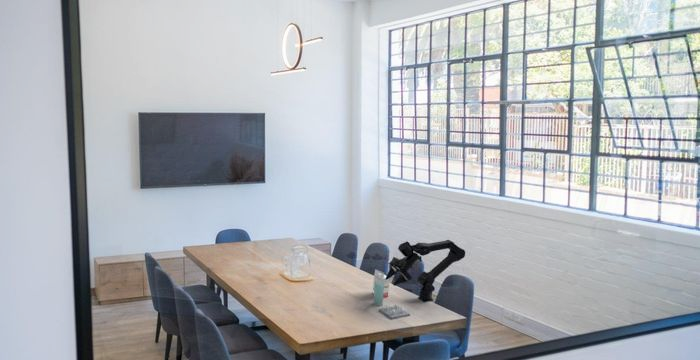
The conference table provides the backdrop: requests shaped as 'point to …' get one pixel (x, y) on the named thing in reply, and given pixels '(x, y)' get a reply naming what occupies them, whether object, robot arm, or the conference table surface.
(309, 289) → the conference table surface
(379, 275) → the ink cartridge box
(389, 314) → the pin board
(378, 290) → the rounded cone
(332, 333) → the conference table surface
